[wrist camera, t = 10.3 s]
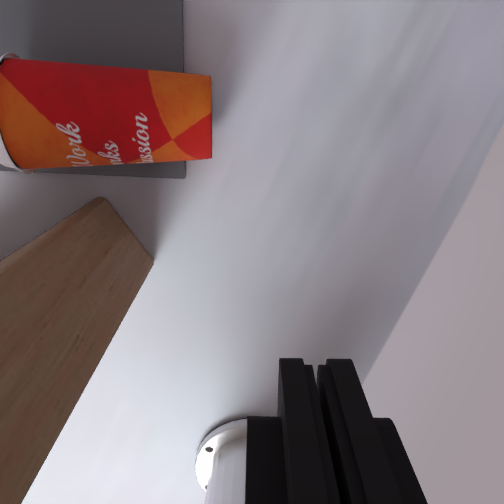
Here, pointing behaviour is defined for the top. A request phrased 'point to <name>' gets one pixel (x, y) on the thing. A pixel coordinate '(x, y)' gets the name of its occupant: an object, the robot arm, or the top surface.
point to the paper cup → (100, 115)
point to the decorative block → (58, 329)
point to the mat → (99, 49)
